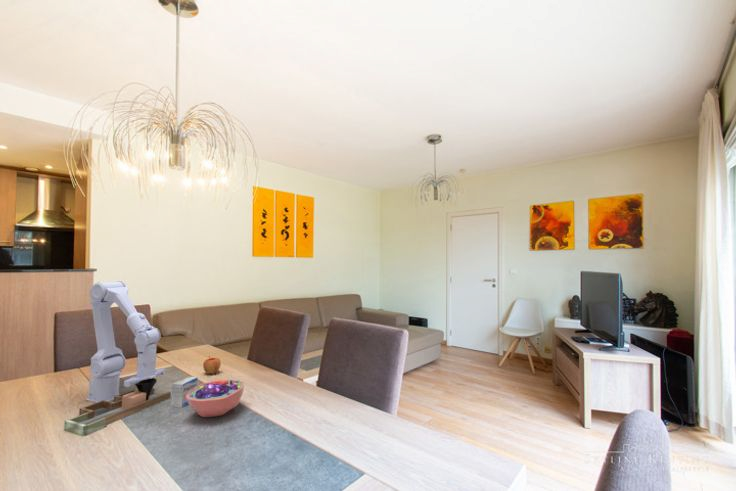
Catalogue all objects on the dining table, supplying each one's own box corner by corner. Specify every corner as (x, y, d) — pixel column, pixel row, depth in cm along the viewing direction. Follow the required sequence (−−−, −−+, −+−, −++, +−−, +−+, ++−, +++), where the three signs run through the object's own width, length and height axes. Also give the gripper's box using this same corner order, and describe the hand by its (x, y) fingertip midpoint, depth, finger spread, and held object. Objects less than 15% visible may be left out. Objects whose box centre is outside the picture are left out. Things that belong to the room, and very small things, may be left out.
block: (121, 408, 117) (122, 395, 117) (135, 403, 121) (136, 390, 122) (131, 411, 115) (132, 398, 115) (145, 405, 120) (146, 392, 120)
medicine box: (181, 409, 119) (182, 384, 119) (170, 407, 120) (172, 383, 120) (197, 400, 127) (198, 377, 127) (186, 398, 127) (188, 376, 128)
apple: (215, 376, 152) (216, 358, 152) (199, 376, 152) (200, 358, 153) (222, 371, 159) (223, 354, 160) (207, 370, 160) (208, 353, 160)
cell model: (255, 406, 122) (256, 375, 123) (208, 431, 104) (210, 394, 105) (222, 397, 129) (223, 368, 130) (173, 419, 111) (174, 385, 112)
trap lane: (53, 426, 105) (54, 417, 105) (142, 392, 132) (142, 386, 132) (84, 435, 100) (84, 426, 100) (170, 399, 127) (170, 391, 127)
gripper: (134, 369, 115) (132, 410, 114) (172, 358, 128) (170, 394, 128) (120, 367, 117) (118, 406, 116) (158, 356, 131) (157, 391, 130)
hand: (144, 400), depth 122 cm, fingers closed
